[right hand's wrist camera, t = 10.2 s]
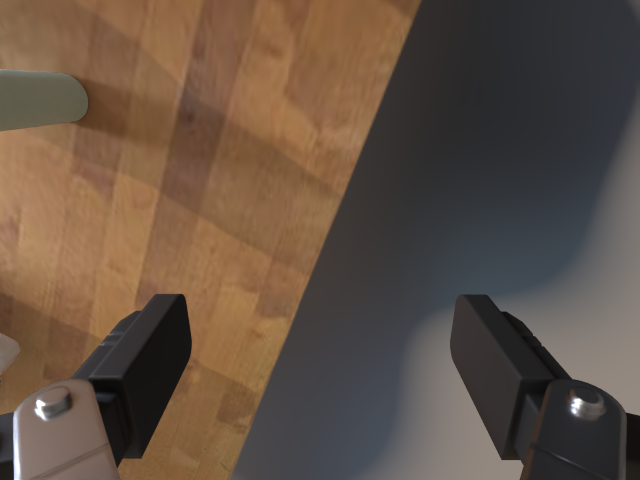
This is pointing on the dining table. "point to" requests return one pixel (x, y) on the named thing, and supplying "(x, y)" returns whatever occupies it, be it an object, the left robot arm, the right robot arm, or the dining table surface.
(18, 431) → the right robot arm
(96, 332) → the dining table surface
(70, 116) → the bottle
